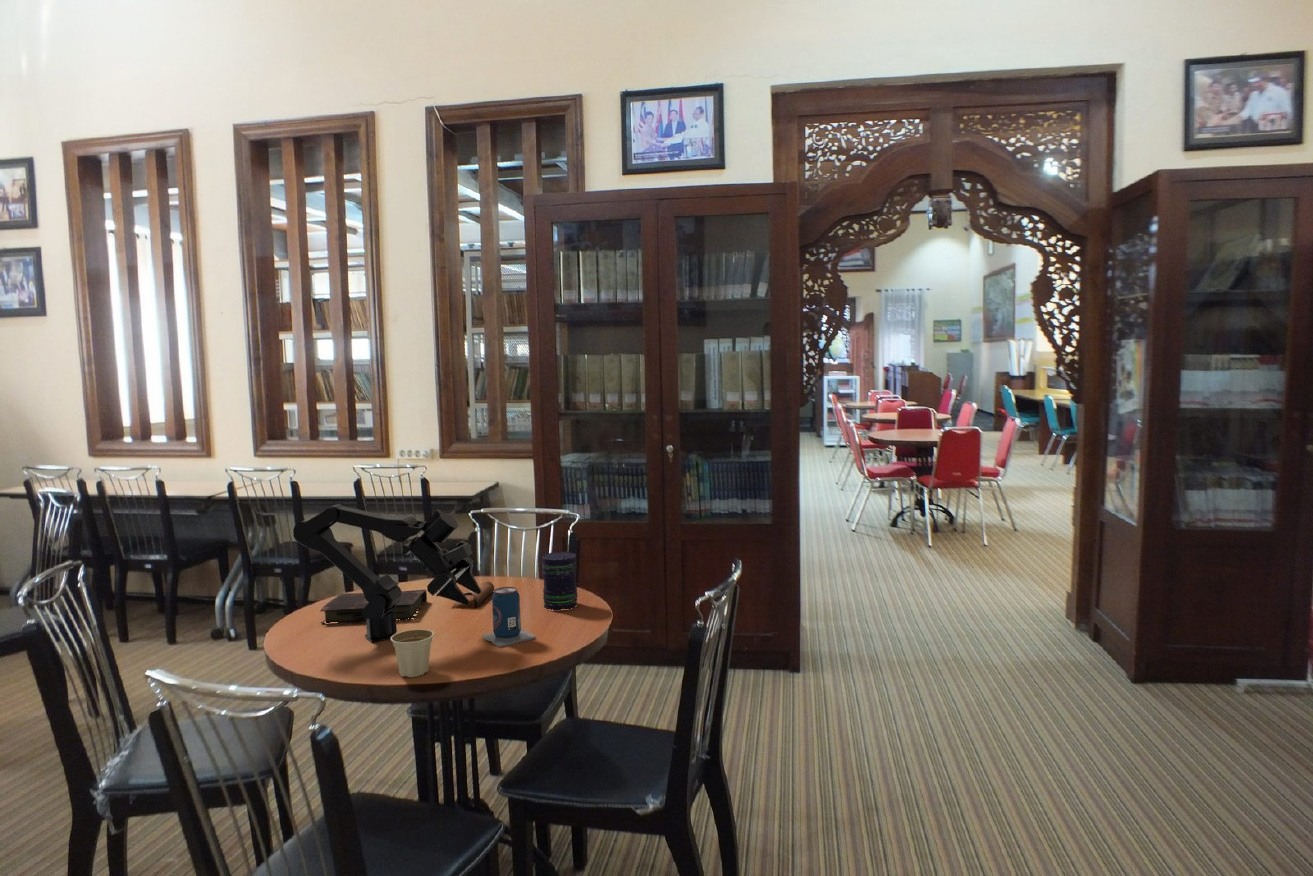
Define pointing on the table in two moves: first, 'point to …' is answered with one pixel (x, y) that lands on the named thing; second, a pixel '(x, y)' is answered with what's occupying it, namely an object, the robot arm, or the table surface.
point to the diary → (352, 604)
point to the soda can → (506, 613)
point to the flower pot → (412, 651)
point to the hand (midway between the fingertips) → (474, 598)
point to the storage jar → (559, 580)
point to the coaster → (500, 642)
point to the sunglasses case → (475, 596)
